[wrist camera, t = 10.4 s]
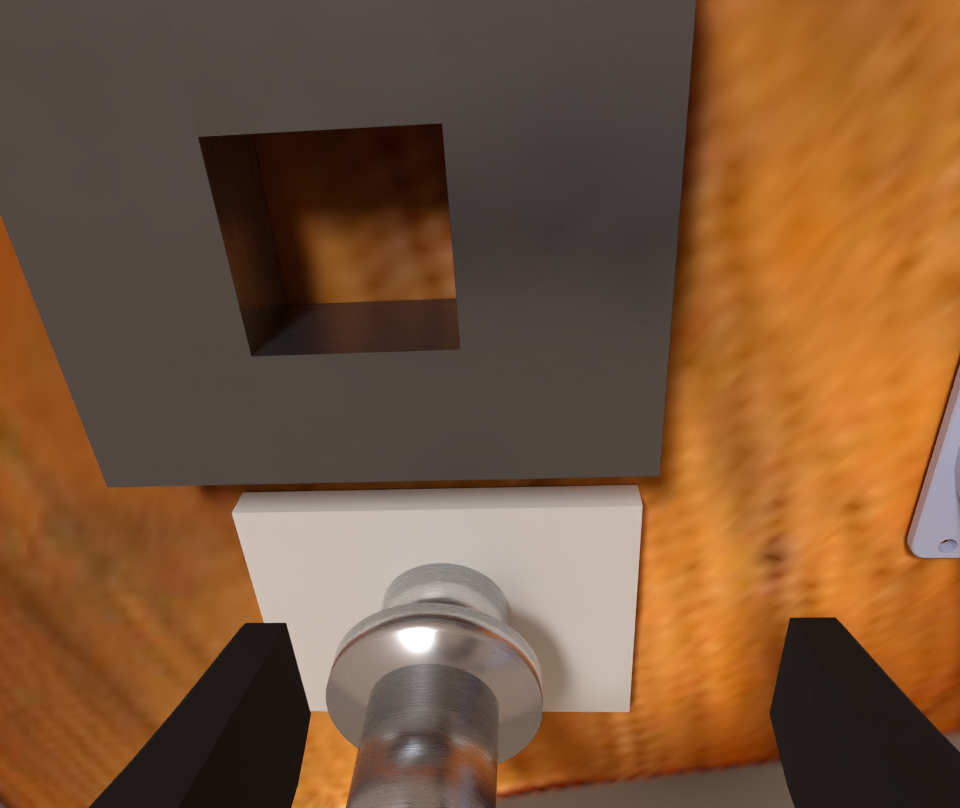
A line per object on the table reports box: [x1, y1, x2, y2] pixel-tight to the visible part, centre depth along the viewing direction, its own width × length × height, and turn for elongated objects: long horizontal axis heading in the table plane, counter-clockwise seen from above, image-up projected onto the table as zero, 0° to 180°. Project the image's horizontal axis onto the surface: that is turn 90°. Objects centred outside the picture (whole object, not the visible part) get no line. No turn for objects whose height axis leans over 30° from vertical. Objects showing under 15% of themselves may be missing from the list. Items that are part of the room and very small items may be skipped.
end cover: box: [326, 563, 543, 808], centre depth 20 cm, size 6×6×9 cm
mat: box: [232, 485, 643, 712], centre depth 24 cm, size 12×9×1 cm
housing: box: [0, 0, 696, 487], centre depth 17 cm, size 14×12×3 cm
